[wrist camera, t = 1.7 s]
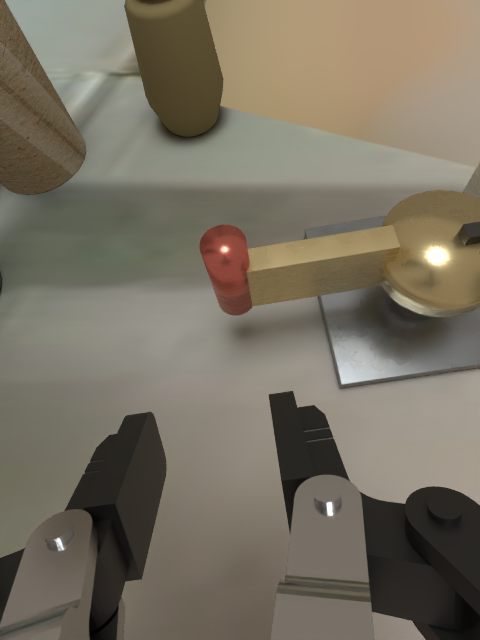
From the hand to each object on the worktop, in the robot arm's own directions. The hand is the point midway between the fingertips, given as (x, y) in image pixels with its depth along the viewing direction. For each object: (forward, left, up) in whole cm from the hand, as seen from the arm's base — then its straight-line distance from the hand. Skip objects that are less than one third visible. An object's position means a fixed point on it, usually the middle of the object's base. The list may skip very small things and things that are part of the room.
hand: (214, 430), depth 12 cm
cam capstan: (+9, +11, -13) cm, 19 cm away
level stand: (+14, +12, -18) cm, 26 cm away
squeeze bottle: (-2, +37, -18) cm, 41 cm away
